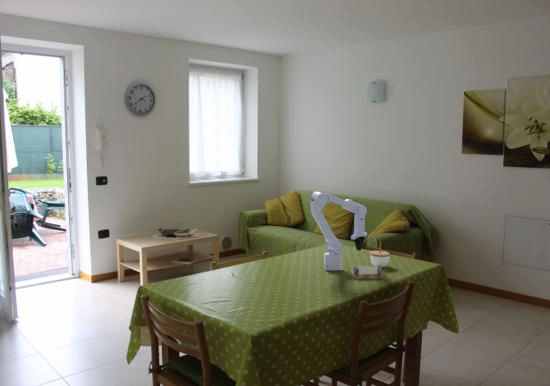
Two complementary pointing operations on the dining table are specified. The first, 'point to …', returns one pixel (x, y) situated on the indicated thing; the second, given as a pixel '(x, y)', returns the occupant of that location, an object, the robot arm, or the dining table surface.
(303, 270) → the dining table surface
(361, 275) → the board
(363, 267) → the white bar
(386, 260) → the lidded jar
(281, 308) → the dining table surface
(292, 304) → the dining table surface
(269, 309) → the dining table surface
